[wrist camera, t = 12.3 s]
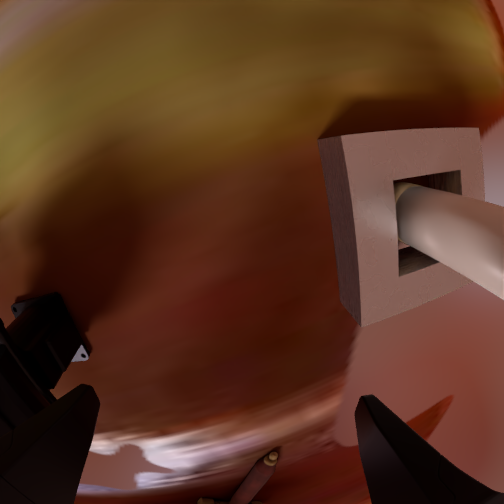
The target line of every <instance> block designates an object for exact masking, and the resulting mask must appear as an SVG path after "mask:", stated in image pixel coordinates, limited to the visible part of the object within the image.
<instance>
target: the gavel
mask: <svg viewBox="0 0 504 504" xmlns="http://www.w3.org/2000/svg"><path fill="white" fill-rule="evenodd" d="M277 457H278V454H277V453H276V452H271V453H270V455H267V456H265V458H263V459H261V460H259V461H258V462H257V463H256V464H255V466H254V467H253V468H252V470H251V471H250V473H249V474H248V476H247V477H246V479H245V480H244V481H243V483H242V484H241V485H240V487H239V488H238V490H237V491H236V492H235V494H234V495H233V496H232V498H231V501H230V502H228V501H214V500H213V499H210V498H200V499H199V500H198V502H197V504H263V503H262V502H261V501H251V500H252V498H253V497H254V496H255V495H256V494H257V493H258V491H259V490H260V489H261V488H262V487H263V485H264V484H265V483H266V482H267V480H268V479H269V478H270V477H271V475H272V474H273V473H274V472H275V467H276V463H277Z"/></svg>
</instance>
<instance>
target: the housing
mask: <svg viewBox="0 0 504 504" xmlns="http://www.w3.org/2000/svg"><path fill="white" fill-rule="evenodd" d="M317 141H318V146H319V151H320V156H321V161H322V167H323V172H324V178H325V184H326V189H327V196H328V202H329V208H330V215H331V222H332V229H333V237H334V245H335V253H336V262H337V271H338V281H339V291H340V302H341V303H342V304H343V305H344V307H345V308H346V309H347V310H348V311H349V313H350V314H351V315H352V316H353V318H354V319H355V320H356V321H357V323H358V324H359V325H360V326H361V327H364V326H367V325H370V324H373V323H376V322H378V321H381V320H384V319H387V318H389V317H392V316H394V315H397V314H400V313H402V312H405V311H407V310H410V309H412V308H415V307H417V306H420V305H422V304H424V303H427V302H429V301H432V300H434V299H436V298H439V297H441V296H443V295H445V294H448V293H450V292H452V291H454V290H456V289H458V288H461V287H463V286H465V285H467V284H469V283H471V282H473V281H472V280H470V279H469V278H467V277H465V276H464V275H462V274H460V273H459V272H457V271H455V270H453V269H452V268H450V267H448V266H446V265H445V264H443V263H441V262H439V261H437V260H436V259H434V258H432V257H430V256H428V255H427V254H425V253H423V252H421V251H419V250H417V249H415V248H413V247H412V246H410V247H406V248H403V249H400V250H398V235H397V219H396V206H395V196H394V186H393V180H399V179H404V178H410V177H416V176H422V175H428V176H429V187H430V188H432V189H437V190H441V191H446V192H450V193H454V194H458V195H462V196H466V197H470V198H474V199H478V200H481V201H485V193H484V172H483V159H482V150H481V141H480V134H479V128H425V129H406V130H392V131H380V132H369V133H360V134H351V135H343V136H336V137H330V138H324V139H318V140H317Z"/></svg>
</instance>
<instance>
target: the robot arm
mask: <svg viewBox="0 0 504 504" xmlns="http://www.w3.org/2000/svg"><path fill="white" fill-rule="evenodd" d="M55 298H57V300H56V299H55ZM11 309H12V312H13V314H14V316H15V318H16V319H15V320H14V321H13V322H12V323H11V324H10V325H9V326H8V327H7V328H6V329H5V327H4V323H3V321H2V320H1V318H0V504H74V500H75V497H76V493H77V489H78V486H79V482H80V479H81V475H82V472H83V468H84V465H85V462H86V458H87V455H88V452H89V449H90V446H91V443H92V439H93V435H94V430H95V426H96V421H97V417H98V412H99V408H100V401H99V399H98V397H97V395H96V393H95V391H94V389H93V387H92V386H90V385H86V384H80V385H79V386H77V387H76V388H74V389H73V390H71V391H70V392H68V393H67V394H65V395H64V396H62V397H61V398H59V399H58V400H57V399H56V398H55V397H54V396H53V394H52V393H51V392H50V389H54V388H55V386H56V384H57V383H58V381H59V379H60V377H61V376H62V374H63V372H65V371H66V370H67V368H68V366H69V365H70V363H71V362H74V361H84V360H88V358H89V356H90V353H89V351H88V349H87V348H86V346H85V344H84V342H83V340H82V338H81V336H80V335H79V333H78V331H77V329H76V327H75V325H74V323H73V321H72V319H71V317H70V314H69V312H68V310H67V308H66V306H65V304H64V302H63V299H62V297H61V295H60V294H59V293H57V292H54V293H50V294H47V295H43V296H39V297H35V298H31V299H28V300H24V301H20V302H16V303H14V304H13V305H12V306H11ZM16 309H17V310H16ZM84 354H85V355H84ZM355 422H356V429H357V437H358V444H359V452H360V457H361V461H362V465H363V469H364V473H365V477H366V481H367V485H368V489H369V493H370V498H371V502H372V504H504V493H501V492H497V491H494V490H492V489H490V488H489V487H487V486H485V485H484V484H482V483H480V482H479V481H477V480H475V479H474V478H472V477H471V476H469V475H468V474H466V473H464V472H463V471H462V470H460V469H459V468H457V467H456V466H455V465H454V464H452V463H451V462H450V461H449V460H447V459H446V458H445V457H444V456H443V455H440V453H439V452H438V451H437V450H436V449H434V448H433V447H432V446H431V445H430V444H428V442H426V441H425V440H424V439H423V438H422V437H421V436H419V435H418V434H417V433H416V432H415V431H414V430H413V429H411V428H410V427H409V426H408V425H407V424H406V423H405V422H403V421H402V420H401V419H400V418H399V417H398V416H397V415H396V414H394V413H393V412H392V411H391V410H390V409H389V408H387V406H385V405H384V404H383V403H382V402H381V401H380V400H379V399H378V398H377V397H375V396H374V395H365V396H361V397H360V399H359V402H358V405H357V407H356V410H355Z"/></svg>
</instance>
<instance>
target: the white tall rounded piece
mask: <svg viewBox="0 0 504 504" xmlns="http://www.w3.org/2000/svg"><path fill="white" fill-rule="evenodd" d="M393 186H394V196H395V206H396V219H397V235H398V240H399V241H401V242H402V243H404V244H407V245H410V246H412V247H413V248H415V249H417V250H419V251H421V252H423V253H425V254H427V255H428V256H430V257H432V258H434V259H436V260H437V261H439V262H441V263H443V264H445V265H446V266H448V267H450V268H452V269H453V270H455V271H457V272H459V273H460V274H462V275H464V276H465V277H467V278H469V279H470V280H472V281H474V282H475V283H477V284H479V285H480V286H482V287H484V288H485V289H487V290H489V291H490V292H492V293H493V294H495V295H496V296H498V297H500V298H501V299H503V300H504V207H502V206H499V205H495V204H492V203H488V202H485V201H481V200H478V199H474V198H470V197H466V196H462V195H458V194H454V193H450V192H446V191H441V190H437V189H432V188H428V187H424V186H421V185H416V184H411V183H406V182H398V183H395V184H393Z"/></svg>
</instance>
